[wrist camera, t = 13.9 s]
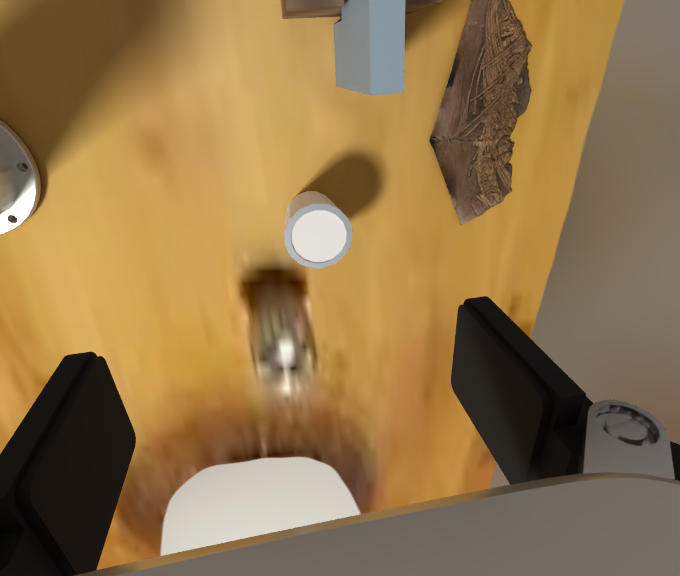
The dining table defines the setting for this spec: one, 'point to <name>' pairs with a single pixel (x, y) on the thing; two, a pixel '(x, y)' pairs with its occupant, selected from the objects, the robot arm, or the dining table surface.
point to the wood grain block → (335, 7)
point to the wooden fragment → (482, 108)
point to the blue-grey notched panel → (371, 46)
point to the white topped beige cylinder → (316, 230)
